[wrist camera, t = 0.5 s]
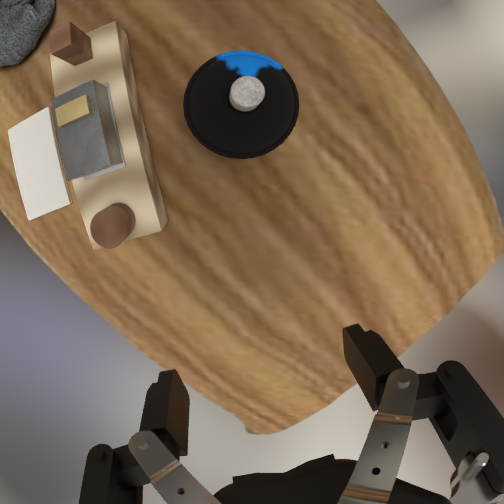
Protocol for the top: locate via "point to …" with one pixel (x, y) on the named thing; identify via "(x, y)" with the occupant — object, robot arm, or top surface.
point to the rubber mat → (39, 164)
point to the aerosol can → (241, 104)
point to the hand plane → (127, 130)
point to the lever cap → (86, 130)
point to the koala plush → (22, 27)
